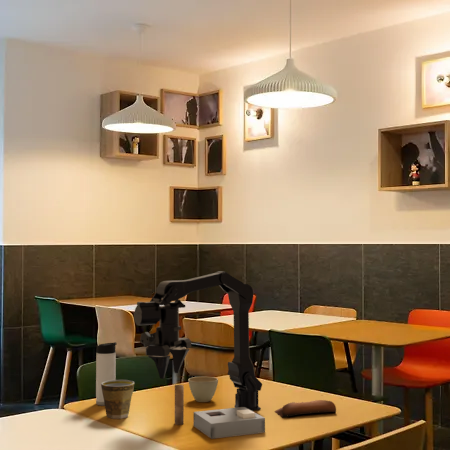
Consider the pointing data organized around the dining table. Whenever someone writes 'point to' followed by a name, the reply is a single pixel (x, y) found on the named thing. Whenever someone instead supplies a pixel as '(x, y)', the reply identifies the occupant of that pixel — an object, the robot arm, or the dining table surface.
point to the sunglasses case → (306, 408)
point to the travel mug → (104, 368)
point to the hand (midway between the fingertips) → (169, 375)
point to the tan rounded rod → (179, 404)
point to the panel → (227, 423)
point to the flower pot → (203, 388)
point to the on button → (245, 414)
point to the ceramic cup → (117, 397)
